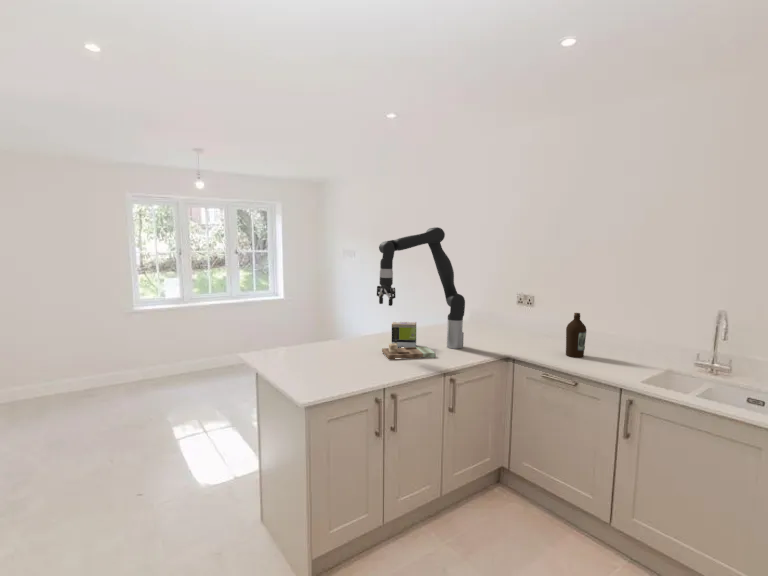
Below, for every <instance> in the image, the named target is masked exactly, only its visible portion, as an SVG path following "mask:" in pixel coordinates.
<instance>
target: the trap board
mask: <svg viewBox="0 0 768 576" xmlns="http://www.w3.org/2000/svg"><path fill="white" fill-rule="evenodd" d="M382 352H383V353H384V354H385V355H386V357H387V358H388V359H393V360H396V359H395V358H412V359H421V358H420V357H431V358H436V352H434V350H432V349H431V348H429V347H428V346H416V347H404V348H398V347H397V352H389V347H387V348H382V349H381V353H382ZM383 353H382V354H383ZM384 354H383V355H384ZM385 355H384V356H385ZM386 357H385V358H386ZM387 358H386V359H387ZM388 359H387V360H388Z"/></svg>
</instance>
